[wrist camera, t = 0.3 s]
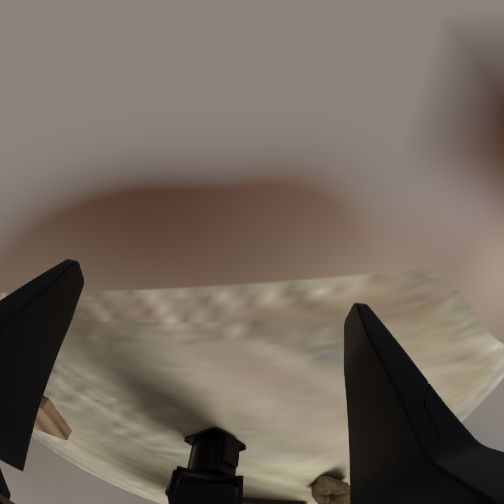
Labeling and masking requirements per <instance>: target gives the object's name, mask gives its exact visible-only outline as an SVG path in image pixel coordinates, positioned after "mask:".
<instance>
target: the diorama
mask: <svg viewBox="0 0 504 504" xmlns="http://www.w3.org/2000/svg"><path fill="white" fill-rule="evenodd" d="M242 504H307V502H305V501H280V500H266V499H256V498H247V497H243V498H242Z"/></svg>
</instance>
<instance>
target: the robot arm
mask: <svg viewBox="0 0 504 504" xmlns="http://www.w3.org/2000/svg"><path fill="white" fill-rule="evenodd" d="M83 285H84V278H83V275H82V271H81V268H80V265H79V263H78V262H77V261H75V260H71V259H67V260H65V261H63V262H61V263H60V264H58V265H57V266H55V267H53V268H51V269H50V270H48V271H46V272H45V273H43V274H41V275H40V276H38V277H36V278H35V279H33V280H32V281H30V282H28V283H27V284H25V285H24V286H22V287H21V288H19V289H17V290H16V291H14V292H13V293H11V294H9V295H8V296H6V297H5V298H3V299H2V300H0V460H2V461H3V462H5V463H7V464H9V465H11V466H13V467H15V468H17V469H19V470H21V471H23V469H24V465H25V461H26V456H27V451H28V447H29V443H30V439H31V435H32V432H33V428H34V424H35V423H34V422H35V420H36V417H37V413H38V410H39V407H40V403H41V400H42V397H43V394H44V391H45V388H46V385H47V382H48V379H49V376H50V374H51V371H52V368H53V365H54V363H55V360H56V358H57V355H58V352H59V350H60V347H61V345H62V342H63V340H64V338H65V335H66V333H67V330H68V328H69V326H70V323H71V320H72V318H73V315H74V311H75V308H76V306H77V303H78V300H79V297H80V294H81V291H82V288H83ZM344 376H345V387H346V400H347V414H348V430H349V453H350V504H504V452H501V451H498V450H495V449H491V448H488V447H486V446H484V445H482V444H481V443H479V442H478V441H477V440H476V439H475V438H474V437H473V436H472V435H471V434H470V432H469V431H468V430H467V429H466V428H465V427H464V425H463V424H462V423H461V422H460V421H459V420H458V418H457V417H456V416H455V415H454V414H453V413H452V411H451V410H450V409H449V408H448V407H447V405H446V404H445V403H444V402H443V401H442V399H441V398H440V397H439V395H438V394H437V393H436V391H435V390H434V389H433V387H432V386H431V385H430V384H428V381H427V379H426V378H425V377H424V375H423V374H422V373H421V372H420V370H419V369H418V368H417V366H416V365H415V364H414V362H413V361H412V360H411V358H410V357H409V356H408V355H407V353H406V352H405V351H404V349H403V348H402V347H401V346H400V344H399V343H398V342H397V341H396V339H395V338H394V337H393V336H392V334H391V333H390V332H389V331H388V329H387V328H386V327H385V326H384V324H383V323H382V322H381V321H380V319H379V318H378V317H377V316H376V315H375V313H374V312H373V311H372V310H371V308H370V307H369V306H368V305H367V304H362V303H355V304H353V306H352V308H351V310H350V312H349V314H348V316H347V318H346V320H345V324H344ZM184 441H185V442H186V443H188V444H189V445H191V446H192V449H191V453H190V458H189V463H188V467H187V468H183V467H181V466H177V469H176V470H173V473H172V477H171V480H170V483H169V485H168V487H167V489H166V491H165V494H166V496H167V497H168V500H169V504H242V498H243V476H235V475H236V467H238V461H239V452H240V451H243V450H245V449H246V446H245V445H244V444H242V443H240V442H238V441H237V440H235V439H234V438H232V437H230V436H229V435H227V434H225V433H224V432H222V431H221V430H219V429H218V428H211V429H208V430H206V431H203V432H200V433H197V434H195V435H192V436H189V437H186V438H185V440H184ZM10 495H11V494H10V492H9V489H8V487H7V484H6V482H5V479H4V477H3V474H2V471H1V469H0V504H14V503H13V502H11V501H10V500H9V499H10Z"/></svg>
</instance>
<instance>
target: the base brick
mask: <svg viewBox="0 0 504 504" xmlns="http://www.w3.org/2000/svg"><path fill="white" fill-rule="evenodd" d="M34 423H35V424H34V428H35V429H37V430H40V431H42V432H45V433H48V434H50V435H53V436H56V437H59V438H61V439H64V440H67V439H68V437H69V435H70V433H71V429H70V428H69V427H68V425H67V424H66V423H65V421H64V420H63V419H62V417H61V416H60V415H59V413H58V412H57V410H56V409H55V407H54V406H53V405H52V403H51V402H50V400H49V399H47V398H43V397H42V400H41V403H40V407H39V410H38V413H37V417H36V420H35V422H34Z"/></svg>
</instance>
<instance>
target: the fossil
mask: <svg viewBox="0 0 504 504" xmlns="http://www.w3.org/2000/svg"><path fill="white" fill-rule="evenodd" d="M316 482H317V483H316V484H315V485H314V486H313V487H312V496H313V498H314V499H315V501H316V502H317V503H318V504H350V486H349V484H348V483H347V482H346V483H345V482H343V481H341V480H339V479H334V478H332V477H329V476H321V477H319V478H318V479H317V481H316Z"/></svg>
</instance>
